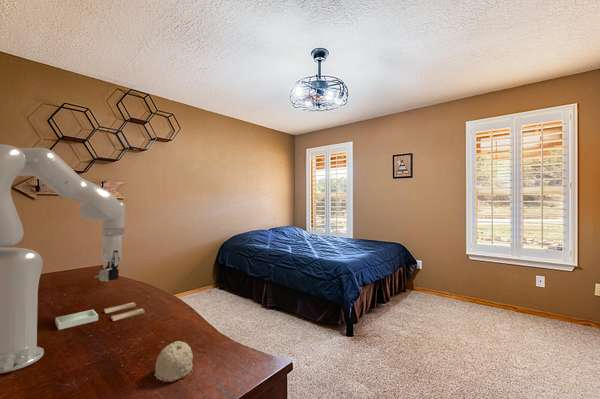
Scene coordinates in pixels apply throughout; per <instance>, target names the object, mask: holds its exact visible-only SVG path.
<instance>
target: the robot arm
mask: <svg viewBox="0 0 600 399" xmlns="http://www.w3.org/2000/svg"><path fill="white" fill-rule="evenodd" d="M18 176H20V177H21V176H27V177H28V176H29V177H30V176H33V177H34V178H36V179H38V180H39V181H40V182H41V183H43V184H44V185H45V186H46V187H48V188H49V189H50V190H52V191H53V193H55V194H56V195H58V196H60V197H63V198H65V199H69V200H72V201H76V202H80V203H82V204H80V206H79V208H78V214H79V215H80V217H81V218H83V219H85V220H87V221H102V226H101V237H103V240H102V250H101V251H102V252H101V260H102V261H103V262H105V264H104V265H105V267H104V270H105V269H110V270H109V277H108V280H109V281H115V280H118V279H119V271H120V270H119V268H120V267H119V266H120V265H119V262H120V261H121V260H122V249H123V248H122V247H123V246H122V244H123V243H122V239H123V238H122V237H124V236H125V224H126V222H125V221H126V204H125V203H124V202H122V201H120V200H118V199H117V197H115V196H114V194H112V193H111V192H110V191H109V190H107V189H106V188H103V187H101V186H99V185H97V184H95V183H94V182H91V181H90V180H87V179H85V178H83V177H81V176H80V175H79V174H78V173H77V172H76V171H75V170H74V169H72V167H70V165H69V164H67V163H66V161H64V160H63V159H62V158H61V157H60V156H59V155H58V154H56V153H55V151H53V150H51V149H48V148H45V147H16V146H13V145H10V144H0V374H5V373H6V374H7V373H9V372H13V371H16V370H20V369H22V368H26V367H27V366H30V365H32V364H33V363H36V362H37V361H39V360H40V359H41V358H42V357H43V356H44V354H45V350H44V348H42V347H40V346H38V345H37V344H38V342H37V341H38V340H37V339H38V302H39V301H38V294H39V293H38V291H39V283H40V278H41V275H42V270H43V266H44V262H43V258H42V256H41V254H39V252H37V251H35V250H33V249H30V248H24V247H12V246H14V245H16V244H18V243H20V242H21V241H22V239H23V237H24V234H25V233H24V227H23V224H22V221H21V219H20V216H19V214H18V212H17V209H16V206H15V204H14V201H13V197H12V194H11V193H12V192H11V191H12V190H11V189H12V185H13V183H14V181H15V179H16V178H17V177H18Z"/></svg>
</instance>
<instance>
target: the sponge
mask: <svg viewBox="0 0 600 399" xmlns="http://www.w3.org/2000/svg"><path fill="white" fill-rule="evenodd" d="M193 355H194V354H193V351H192V348H191V346H190V345H189V344H188V343H186V342H184V341H180V340H177V341H174V342H172V343H170V344H168V345H167V346H165V347H163V349H162V350H161V351H160V353H159V354H158V356H157V359H156V362H155V369H154V370H155V372H154V376H156V378H157V379H160V380H165V381H167V380H168V381H172V380H174V379H178V378H180V377H181V376H185V375H186V374H188V373H189V372H190V371H191V370H192V371H193V369H192V367H194V366H193V365H194V364H193V358H194V356H193ZM157 379H156V380H157Z"/></svg>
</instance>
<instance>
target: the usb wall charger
mask: <svg viewBox="0 0 600 399" xmlns="http://www.w3.org/2000/svg"><path fill="white" fill-rule="evenodd" d="M109 270H110V269H105V268H104V269H102V270H100V271H99V274H98V275H95V276H94V279H96V278H98V279H99V281H100V282H108V281H110V280H108V277H109Z"/></svg>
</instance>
